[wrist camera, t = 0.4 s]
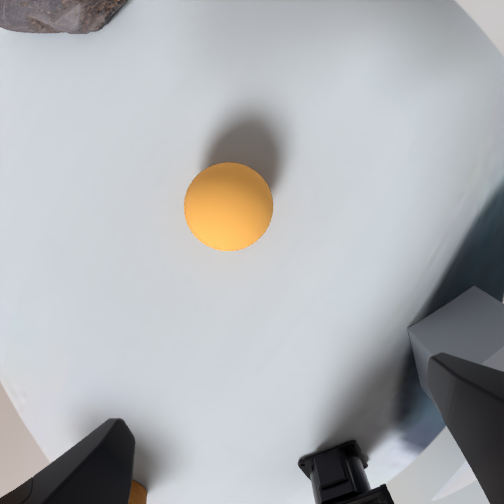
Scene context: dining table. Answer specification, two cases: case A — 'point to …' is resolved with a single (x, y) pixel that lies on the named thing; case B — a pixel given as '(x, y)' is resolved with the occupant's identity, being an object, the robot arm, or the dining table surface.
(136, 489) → the disposable coffee cup
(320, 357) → the dining table surface
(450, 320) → the grey cube
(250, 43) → the dining table surface
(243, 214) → the ball
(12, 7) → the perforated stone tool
